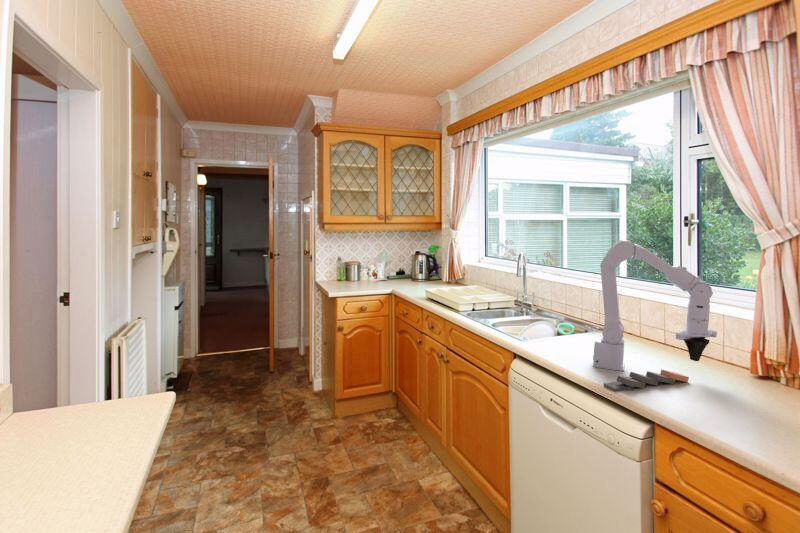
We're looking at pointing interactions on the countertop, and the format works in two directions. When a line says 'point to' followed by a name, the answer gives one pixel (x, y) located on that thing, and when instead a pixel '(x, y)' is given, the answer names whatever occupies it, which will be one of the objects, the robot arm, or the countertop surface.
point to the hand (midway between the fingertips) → (694, 360)
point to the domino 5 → (674, 375)
